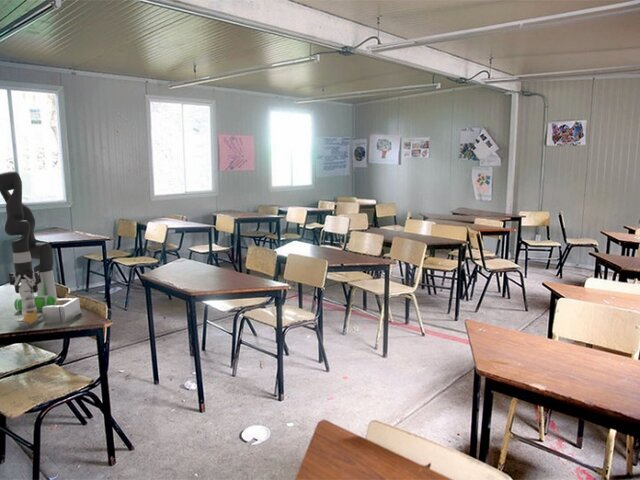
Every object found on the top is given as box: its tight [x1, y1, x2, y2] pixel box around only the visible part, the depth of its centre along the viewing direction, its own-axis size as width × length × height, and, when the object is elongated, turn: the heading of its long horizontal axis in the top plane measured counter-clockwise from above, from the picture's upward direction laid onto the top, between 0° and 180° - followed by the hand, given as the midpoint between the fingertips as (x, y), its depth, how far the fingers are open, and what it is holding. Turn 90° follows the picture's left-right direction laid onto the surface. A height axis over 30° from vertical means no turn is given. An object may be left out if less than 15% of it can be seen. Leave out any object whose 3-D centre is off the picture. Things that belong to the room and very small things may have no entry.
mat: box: [16, 312, 43, 323], centre depth 240 cm, size 10×8×1 cm
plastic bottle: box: [18, 279, 37, 316], centre depth 238 cm, size 6×7×20 cm
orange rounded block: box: [22, 310, 38, 325], centre depth 228 cm, size 8×3×7 cm, turn 1°
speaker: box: [14, 295, 56, 312], centre depth 253 cm, size 18×7×8 cm, turn 97°
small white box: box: [18, 297, 82, 330], centre depth 233 cm, size 23×18×8 cm
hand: (27, 292), depth 237 cm, fingers open, 8 cm apart
